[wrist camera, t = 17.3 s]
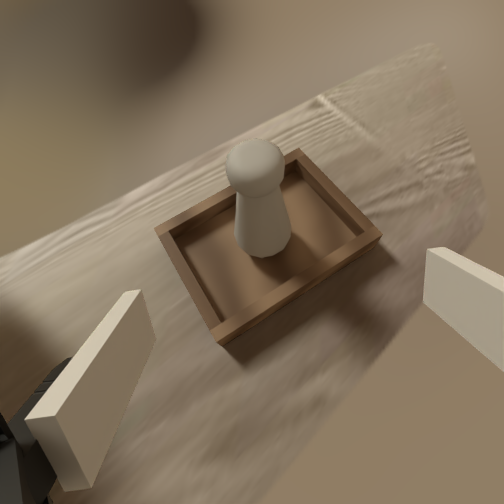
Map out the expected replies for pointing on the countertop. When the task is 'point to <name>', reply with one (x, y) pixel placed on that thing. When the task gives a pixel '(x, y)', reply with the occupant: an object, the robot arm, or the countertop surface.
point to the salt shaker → (258, 197)
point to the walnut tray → (268, 268)
